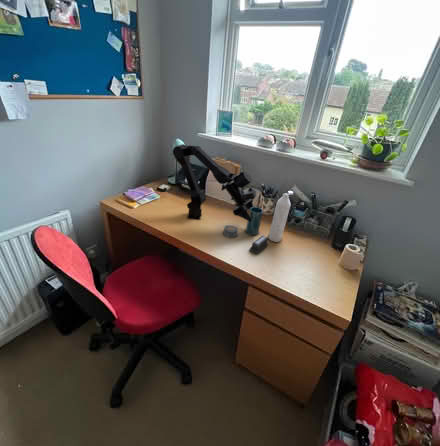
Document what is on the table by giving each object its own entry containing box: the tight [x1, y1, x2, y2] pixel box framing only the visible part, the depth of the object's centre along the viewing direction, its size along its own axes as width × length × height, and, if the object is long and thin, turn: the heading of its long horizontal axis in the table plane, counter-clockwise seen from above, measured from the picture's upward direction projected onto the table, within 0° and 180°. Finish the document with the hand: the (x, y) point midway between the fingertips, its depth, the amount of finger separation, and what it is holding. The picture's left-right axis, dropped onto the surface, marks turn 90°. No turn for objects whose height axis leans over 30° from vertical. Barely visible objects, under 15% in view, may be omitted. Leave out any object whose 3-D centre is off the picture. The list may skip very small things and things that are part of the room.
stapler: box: [249, 235, 269, 255], centre depth 116 cm, size 10×4×4 cm, turn 142°
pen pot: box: [245, 206, 264, 236], centre depth 126 cm, size 7×7×13 cm
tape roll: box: [223, 224, 238, 238], centre depth 125 cm, size 7×7×3 cm
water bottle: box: [267, 190, 294, 243], centre depth 120 cm, size 9×6×25 cm
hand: (252, 217), depth 125 cm, fingers open, 9 cm apart
